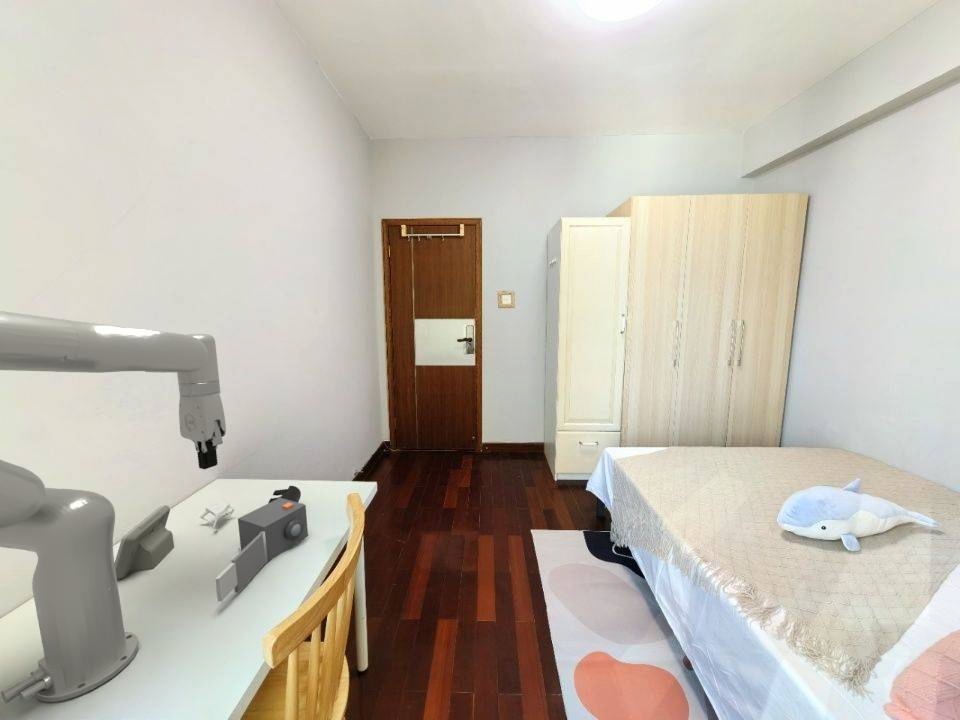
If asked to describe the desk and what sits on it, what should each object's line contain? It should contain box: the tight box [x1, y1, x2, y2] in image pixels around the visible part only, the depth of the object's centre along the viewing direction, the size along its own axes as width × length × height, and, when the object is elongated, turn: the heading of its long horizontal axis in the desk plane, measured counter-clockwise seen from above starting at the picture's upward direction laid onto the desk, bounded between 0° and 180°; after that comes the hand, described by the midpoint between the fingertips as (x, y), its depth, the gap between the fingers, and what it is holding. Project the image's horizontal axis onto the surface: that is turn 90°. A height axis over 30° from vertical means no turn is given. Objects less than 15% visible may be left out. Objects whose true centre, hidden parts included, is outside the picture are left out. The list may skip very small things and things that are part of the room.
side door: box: [214, 531, 269, 603], centre depth 87 cm, size 1×16×8 cm, turn 178°
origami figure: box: [199, 499, 235, 534], centre depth 113 cm, size 12×8×5 cm
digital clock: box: [114, 505, 175, 581], centre depth 96 cm, size 16×9×11 cm, turn 0°
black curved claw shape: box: [267, 485, 302, 504], centre depth 118 cm, size 10×7×7 cm
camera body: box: [237, 497, 309, 563], centre depth 102 cm, size 12×11×10 cm
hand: (208, 466), depth 91 cm, fingers closed
